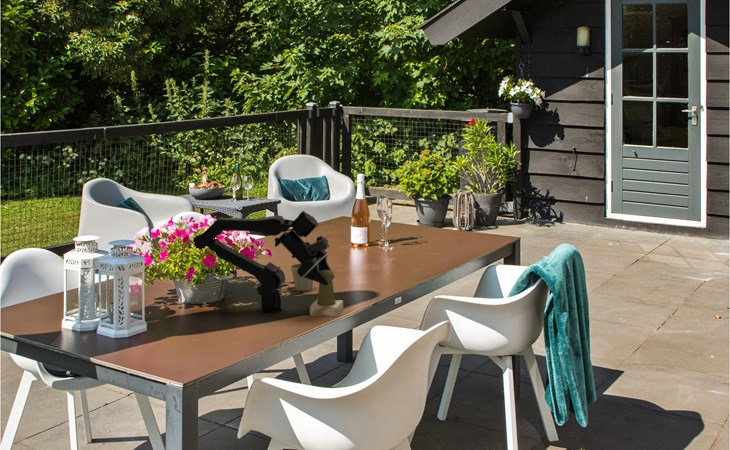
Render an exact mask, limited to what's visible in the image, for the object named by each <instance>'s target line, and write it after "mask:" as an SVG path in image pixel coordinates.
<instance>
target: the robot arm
mask: <svg viewBox="0 0 730 450" xmlns="http://www.w3.org/2000/svg"><path fill="white" fill-rule="evenodd" d="M318 226H319V223H318V221H317V219H316V218H315V217H314V216H313V215H311V214H310V213H307V212H306V211H304V210H302V211H301V212H300V213H299V214H298V216H297V217H296V218H295V219H294V220H291V219H286V218H284V217H283V216H282V215H271V216H265V217H262V218H241V217H240V218H239V217H238V218H237V217H236V218H235V217H223V216H222V217H218V218H217V219H216V220H214V222H213V223H212V224H211V225H210V226H209V227H208V228H207V229H206V230H204V231H203V232H204V233H203V232H201V233H202V234H201V233H200V234H198V235H196V236H195V237H194V238H193V240H192V243H193V242H195V246H196V248H199V249H202V248H204V247H205V246H208V247H209V248H210V249H211V250H212V251H214V252H216V254H217V256H218V258H220V259H221V260H223V261H226V262H228V263H229V264H231V265H233V266H235V267H237V268H239V269H240V270H242V271H244V272H246V273H248V275H249V274H250V275H251V276H253V277H255V279H256V280H257V281H258V282H259V283H260V285H259V286H257V288H256V290H257V291H256V292H257V293H258V306H257V310H258V311H260V312H261V313H263V314H265V313H267V314H268V313H273V312H274V313H275V312H281V311H283V310H282V295H280V290H279V289H280V287H281V286H282V284H284V282H285V280H286V275H285V272H284V270H282V269H281V268H282V267H281V266H277V265H275V264H274V263H272V262H271V261H270V262H268V263H267V264H262V263H260V262H257V261H256V260H254V259H252V258H250V257H249V256H246V255H244V254H242V253H240V252H239V251H237V250H235V249H233V248H232V247H229V246H228V245H226V244H224V243H223V242H222V243H221V242H220V241H219V240H218V239H215V237H216V236H217V235H219V236H220V235H221V234H222V233H223V232H224V231H226V232H227V231H228V232H229V231H230V232H257V233H260V234H263V235H268V236H273V237H275V236H276V237H275V238H274V247H278V246H279V245H281V244H282V246H283V247H284V248H285V249H286V250H287V251H288V252H289V253H290V254H291V257H292V259H294V258H295V259H296V260H297V262H298V263H301V265H300V267H299V268H298V269H297V273H298V274H299V275H300V276H301V277H303V276H304V275H305V274H306V275H305V276H304V278H308V279H310V280H313V282H315V283H316V282H317V283H318V284H319V283H321V284H323V285H327V284H328V282H327V280H326V279H325V277H324V276H323V275H322V273H321V272H320V271H321V270H331V271H332V269H331V267H330V266H329V263H328V261H327V260H328V252H327V251H326V250H327V249H328V248H329V247H330V245H329V243H328V242H329V239H327V238H326V237H325V236H322V235H319V236H317V238H316V239H315V242H312V243H310V242H309V241H306V242H305V240H303V239H302V238H303V237H304V238H307V237H308V236H310V234H311V233H312V232H313V231H314V230H315V229H316V228H317V227H318ZM289 229H290V230H289ZM288 230H289V231H288ZM281 233H282V234H281ZM280 234H281V235H280ZM278 235H280V236H278ZM277 236H278V237H277ZM213 238H214V239H213ZM217 256H216V257H217ZM334 278H335V275H334Z"/></svg>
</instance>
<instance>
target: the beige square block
mask: <svg viewBox="0 0 730 450" xmlns="http://www.w3.org/2000/svg"><path fill="white" fill-rule="evenodd" d="M317 300H318V298H317V299H315V300H314V301H313V303H312V304H311V305H309V316H316V317H336V318H337V317H338V316H340V314H341V312H343V311H344V300H342V299H341V300H340V299H339V300H338V299H335V302H336V303H335V304H334V305H330V306H322V305H318V304H317Z"/></svg>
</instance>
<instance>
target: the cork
mask: <svg viewBox="0 0 730 450" xmlns="http://www.w3.org/2000/svg"><path fill="white" fill-rule="evenodd" d="M320 272H321V273H322V275H323V276H324V277H325V279H326V280H327V282H328V284H327V285H323V284H321V283H318V284H319V285H318V294H317V299H318V300H317V304H318V305H322V306H330V305H334V304H335V303H336V302H335V300H336V296H335V288H334V284H333V283H334V282H333V280H334V278H335V277H334V276H335V274H334V271H333V270H332V269H331V270H321V271H320Z"/></svg>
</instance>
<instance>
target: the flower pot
mask: <svg viewBox="0 0 730 450" xmlns="http://www.w3.org/2000/svg"><path fill="white" fill-rule="evenodd" d="M300 265H301V263H300V262H298V263H293V264H291V265H290V266H289V268H290V269H291V272H292V277H293V283H294V289H295V290H296V291H298V292H305V291H312V290H313V287H314V281H313V280H310V279H308V278H304V276H305V275H306V274H305V275H304V276H303V277H301V276H300V275H299V274H298V273H297V269H298V268H299V267H300Z"/></svg>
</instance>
